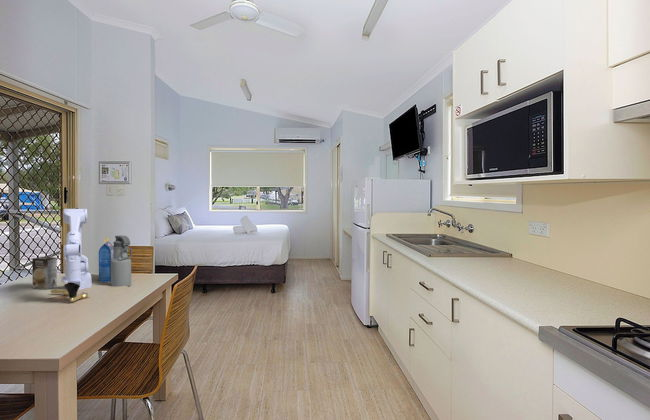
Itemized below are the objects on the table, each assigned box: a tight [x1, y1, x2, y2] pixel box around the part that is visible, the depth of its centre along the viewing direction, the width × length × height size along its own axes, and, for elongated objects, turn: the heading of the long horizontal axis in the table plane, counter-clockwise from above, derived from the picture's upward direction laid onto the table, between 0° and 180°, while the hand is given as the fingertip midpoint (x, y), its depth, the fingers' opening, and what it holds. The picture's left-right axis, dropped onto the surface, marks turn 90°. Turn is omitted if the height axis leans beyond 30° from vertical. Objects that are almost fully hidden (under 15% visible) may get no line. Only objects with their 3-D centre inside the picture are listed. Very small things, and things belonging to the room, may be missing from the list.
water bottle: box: [110, 235, 133, 288], centre depth 191 cm, size 10×10×28 cm
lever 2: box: [70, 292, 89, 302], centre depth 162 cm, size 11×4×2 cm, turn 5°
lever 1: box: [50, 288, 69, 296], centre depth 170 cm, size 11×4×2 cm, turn 91°
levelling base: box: [47, 294, 91, 304], centre depth 165 cm, size 10×16×2 cm, turn 65°
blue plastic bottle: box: [98, 236, 114, 283], centre depth 206 cm, size 6×12×25 cm, turn 24°
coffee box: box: [31, 256, 58, 290], centre depth 187 cm, size 9×6×16 cm
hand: (73, 298), depth 161 cm, fingers closed, pressing on lever 2
